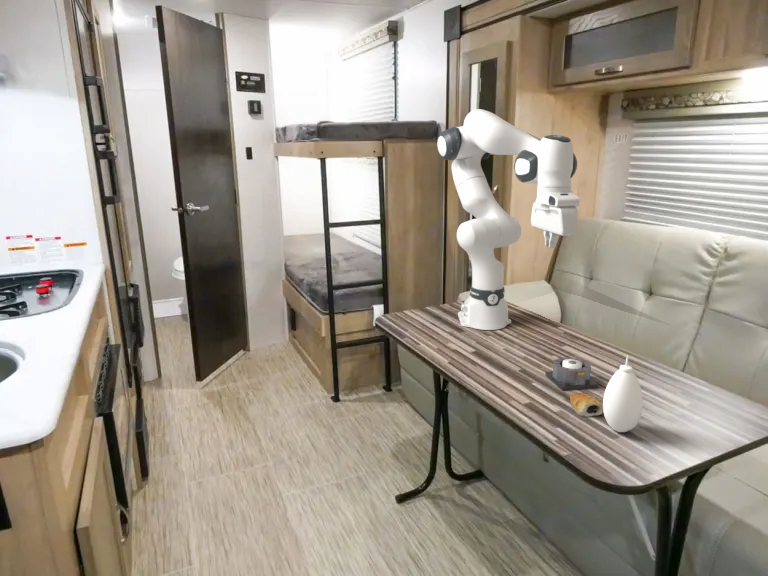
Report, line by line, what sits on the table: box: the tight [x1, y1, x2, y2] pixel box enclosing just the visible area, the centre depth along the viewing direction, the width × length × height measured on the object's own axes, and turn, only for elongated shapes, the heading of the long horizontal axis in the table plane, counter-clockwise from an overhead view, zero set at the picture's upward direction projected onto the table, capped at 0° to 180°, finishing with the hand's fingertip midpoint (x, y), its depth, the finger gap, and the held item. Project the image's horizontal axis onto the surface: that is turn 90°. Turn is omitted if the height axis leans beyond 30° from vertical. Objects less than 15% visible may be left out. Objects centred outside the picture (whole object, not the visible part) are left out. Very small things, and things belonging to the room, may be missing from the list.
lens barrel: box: [545, 356, 599, 391], centre depth 141 cm, size 10×10×5 cm
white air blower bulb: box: [602, 355, 644, 433], centre depth 114 cm, size 8×8×18 cm
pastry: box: [569, 392, 604, 418], centre depth 127 cm, size 9×7×4 cm
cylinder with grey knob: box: [562, 359, 582, 369], centre depth 141 cm, size 5×5×5 cm
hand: (550, 247), depth 145 cm, fingers closed
